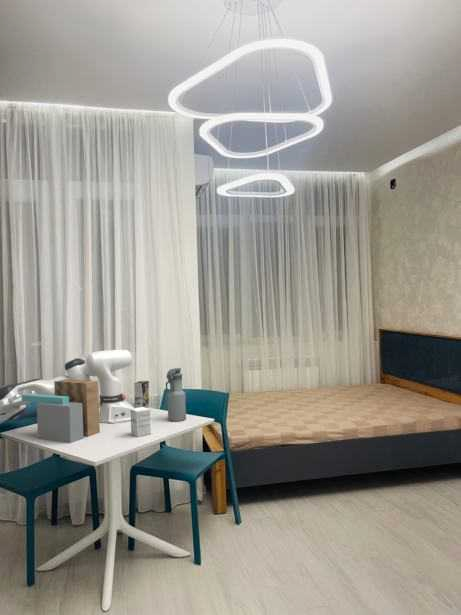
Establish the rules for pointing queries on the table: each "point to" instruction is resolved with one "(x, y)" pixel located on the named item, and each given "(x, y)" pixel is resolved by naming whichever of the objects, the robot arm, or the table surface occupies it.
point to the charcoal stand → (60, 421)
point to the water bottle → (175, 396)
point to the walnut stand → (82, 401)
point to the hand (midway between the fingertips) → (25, 394)
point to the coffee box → (141, 394)
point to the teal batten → (45, 398)
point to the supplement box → (140, 422)
